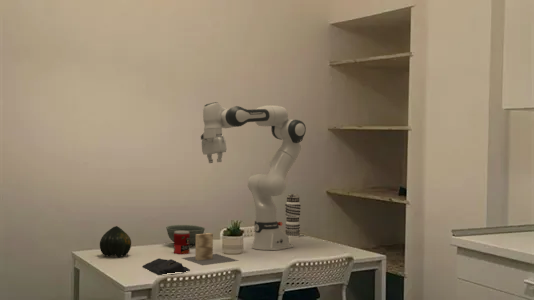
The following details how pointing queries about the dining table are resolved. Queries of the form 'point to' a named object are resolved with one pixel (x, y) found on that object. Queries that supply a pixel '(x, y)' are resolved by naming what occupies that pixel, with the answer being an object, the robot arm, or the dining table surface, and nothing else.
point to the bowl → (192, 230)
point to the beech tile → (204, 246)
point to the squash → (115, 242)
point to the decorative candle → (292, 215)
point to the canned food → (181, 242)
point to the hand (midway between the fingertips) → (215, 162)
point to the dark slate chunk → (165, 266)
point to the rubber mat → (211, 260)
